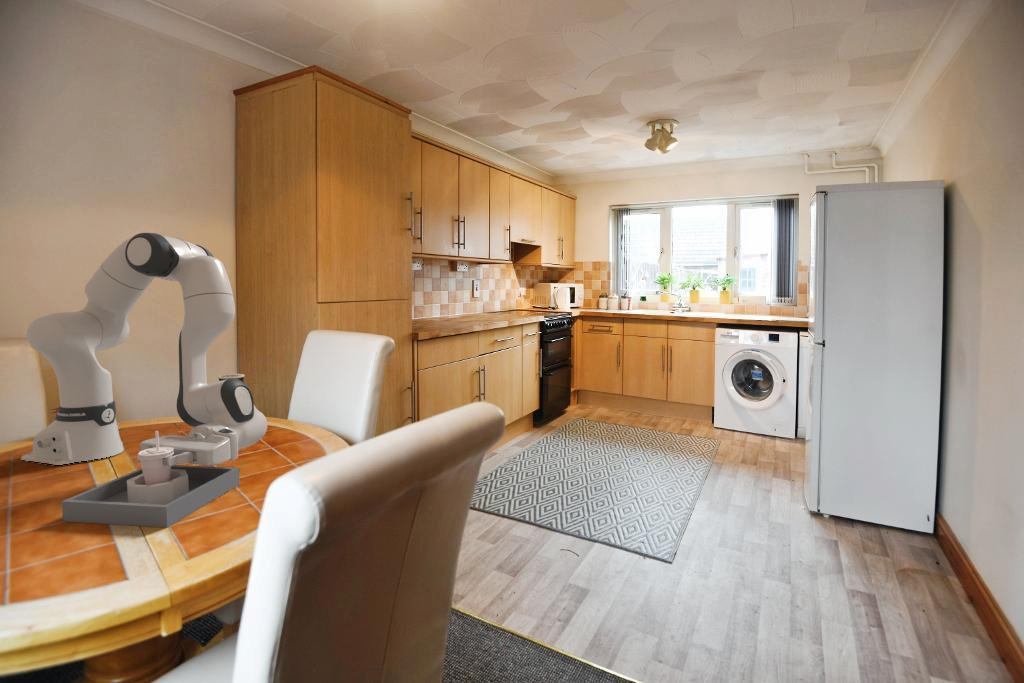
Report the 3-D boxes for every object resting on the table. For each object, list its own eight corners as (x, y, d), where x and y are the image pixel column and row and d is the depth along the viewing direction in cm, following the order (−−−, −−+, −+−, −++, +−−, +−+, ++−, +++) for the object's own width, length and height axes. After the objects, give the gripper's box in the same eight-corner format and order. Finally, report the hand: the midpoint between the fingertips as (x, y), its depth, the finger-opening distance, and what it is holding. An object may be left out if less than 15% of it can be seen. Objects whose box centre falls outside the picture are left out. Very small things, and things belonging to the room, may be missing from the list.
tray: (63, 521, 101) (61, 495, 100) (152, 480, 123) (151, 458, 122) (167, 527, 99) (165, 501, 98) (239, 484, 120) (238, 462, 120)
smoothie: (158, 502, 107) (154, 436, 105) (132, 499, 108) (127, 434, 107) (183, 490, 113) (179, 427, 112) (159, 487, 114) (154, 426, 113)
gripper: (172, 425, 125) (114, 441, 111) (242, 432, 119) (190, 450, 106) (174, 451, 125) (116, 470, 112) (243, 459, 120) (191, 480, 106)
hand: (153, 460), depth 109 cm, fingers closed on smoothie, 6 cm apart
